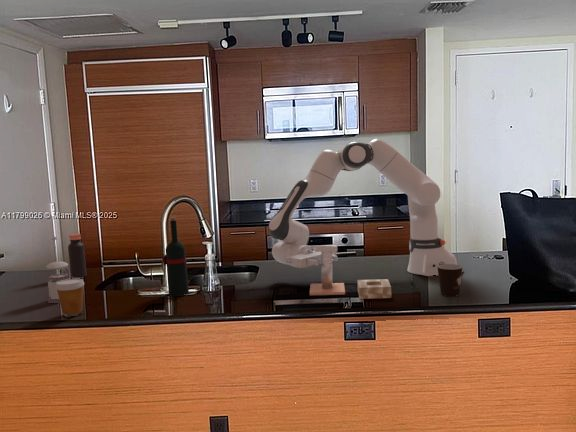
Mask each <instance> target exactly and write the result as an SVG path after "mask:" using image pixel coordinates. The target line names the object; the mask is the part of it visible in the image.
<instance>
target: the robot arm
mask: <svg viewBox="0 0 576 432" xmlns="http://www.w3.org/2000/svg"><path fill="white" fill-rule="evenodd" d="M367 164H368V165H370V166H372V167H374V168H375V169H376V170H377V171H378V172H379V173H380V174H382V176H384V177H385V178H386V179H387V180H388V181H390V182H391V183H392V184H393V185H394V186H395V187H397V188H398V189H399V190H400V191H402V192H403V193H404V194H405V195H407V202H408V203H407V204H408V213H409V221H410V222H409V224H410V226H409V227H410V229H409V230H410V231H409V232H410V235H409V236H410V237H409V243H408V244H409V245H408V247H409V248H408V249H409V252H410V253H409V260H408V266H407V272H408V273H410V274H415V275H422V276H426V277H434V276H433V275H436V276H438V268H437V266H438V265H442V264H457V265H458V261H457V258H456V256H455V255H454V253H452V252H450V251H449V249H446V248H445V247H443V246H445V245H446V240H444V239H441V238H439V236H438V234H439V231H438V229H439V228H438V216H437V211H436V204H437V203H438V202H439V200H440V198H441V189H440V187H439V185H438V184H437V183H436V182H435V181H434V180H433V179H431V178H430V177H429V176H428V175H427V174H426V173H424V172H423V171H422V170H420V169H419V168H418V167H417V166H415V165H414V164H413V163H412V162H411V161H409V160H408V158H406V157H405V156H404V155H402V153H400V152H399V151H398V150H397V149H395V148H394V147H393V146H391V145H390V144H389V143H387V142H386V141H385V140H382V139H381V138H374V139H372V140H371V141H369V142H368V143H365V142H360V141H352V142H349V143H347V144H346V145H344V146H343V147H342V148H341V149H340V150H338V151H335V150H332V149H324V150H323V151H321V152H320V154H318V156H317V157H316V158H315V160H314V162H313V164H312V166H311V168H310V170H309V171H308V174H307V175H306V176H305V177H304V178H303V179H300V180H299V181H297V182H296V183H295V185H294V186H293V188H292V189H291V190H290V192H289V193H288V195H287V197H286V198H285V199H284V201H283V203H282V204H281V207H279V209H278V210H277V212H276V213H275V214H274V216H272V217H271V219H270V220H269V223H268V232H269V235H270V236H271V238H273V239H275V240H277V241H278V242H276V243H274V244H273V246H272V248H271V254H272V257H273V258H274V260H275V261H276V262H278V263H281V264H283V265H288V266H291V267H293V268H297V269H307V268H309V267H311V266H317V267H318V266H321V264H322V257H321V252H316V246H319V245H308V244H309V240H310V234H311V233H310V229H309V227H308V225H307V224H304V223H302V222H300V221H298V220H295V219H293V218H292V217H293V214H294V213H295V211H296V209H297V208H298V206H300V203H302V201H303V200H304V199H307V198H311V197H312V198H320V197H323V196H325V195H327V194H328V193H329V192H331V189H332V188H333V186H334V184H335V181H336V180H337V179H336V178H337V176H338V175H339V173H340V172H341V171H345V172H353V171H357V170H358V171H359V170H360V169H361V168H362V167H364V166H366V165H367ZM338 259H339V257H338V255H337V252H332V262H337V261H338ZM462 272H463V273H464V270H463V269H462Z"/></svg>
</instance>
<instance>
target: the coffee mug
mask: <svg viewBox="0 0 576 432" xmlns="http://www.w3.org/2000/svg"><path fill="white" fill-rule="evenodd" d="M437 268H438V275H437V276H438V281H439V290H440V295H441V294H442V296H443V295H446V296H445V297H449V296H454V297H457V296H456V295H459V294H461V293H460V292H461V285H462V277H463V276H462V275H463V273H462V269H463V268H464V267H463V265H461V264H458V263H457V264H442V265H438V266H437ZM459 296H460V295H459Z"/></svg>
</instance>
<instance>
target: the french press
mask: <svg viewBox="0 0 576 432" xmlns="http://www.w3.org/2000/svg"><path fill="white" fill-rule="evenodd" d="M51 240H52V241H53V242H54V244H56V240H58V237H56V236H52V237H51ZM54 249H55V252H54V253H57V246H54ZM55 259H56V260H55V261H54V262H50V263H48V264H47V265H46V266H45V269H46V270H47V269H48V270H57V272H59V269H60V270H61V271H64V273H56V274H51V275H49V276H48V280H47V286H48V287H47V288H48V296H49V299H50V297H51V299H59V296H58V292H57V289H56V288H55V286H56V283H57V282H58V281H61V280H65V279H71V272H70V268H69V267H68V266H70V263H68V262H65V261H60V260H59V261H58V258H57V255H55ZM66 268H67V270H68V273H67V271H66ZM68 276H69V277H68Z"/></svg>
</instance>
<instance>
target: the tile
mask: <svg viewBox="0 0 576 432" xmlns="http://www.w3.org/2000/svg"><path fill="white" fill-rule="evenodd" d="M332 284H333V288H331V289H323V288H322V282H321V283H310V284H309V285H310V286H309V287H310V288H309V296H331V295H332V296H335V295H336V296H337V295H340V296H341V295H346V289H345V283H344V282H334V283H333V282H332Z"/></svg>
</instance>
